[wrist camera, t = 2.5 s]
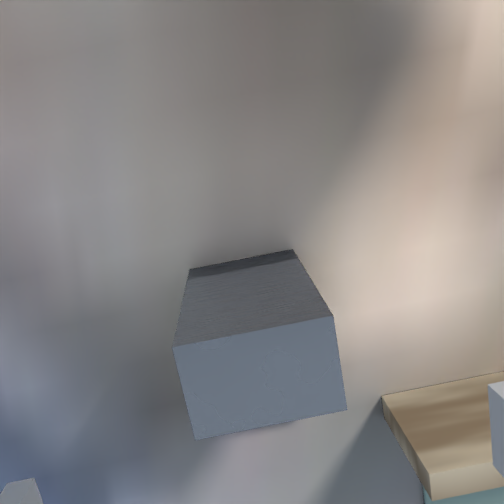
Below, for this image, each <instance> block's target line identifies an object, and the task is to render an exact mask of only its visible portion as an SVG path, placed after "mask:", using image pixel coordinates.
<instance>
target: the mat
mask: <svg viewBox="0 0 504 504" xmlns="http://www.w3.org/2000/svg"><path fill="white" fill-rule="evenodd" d="M423 494H424V503H425V504H504V487H499V488H494V489H489V490H484V491H479V492H475V493H470V494H465V495H460V496H455V497H450V498H445V499H440V500H436V501H432V500H431V499H430V497H429V495H428V493H427V492H426V490H425V488H424V486H423Z"/></svg>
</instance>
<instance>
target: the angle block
mask: <svg viewBox="0 0 504 504" xmlns="http://www.w3.org/2000/svg"><path fill="white" fill-rule="evenodd" d="M172 349H173V353H174V357H175V361H176V365H177V370H178V374H179V378H180V382H181V386H182V390H183V394H184V398H185V402H186V406H187V410H188V414H189V418H190V422H191V426H192V430H193V434H194V438H195V440H200V439H205V438H210V437H215V436H220V435H225V434H230V433H235V432H240V431H245V430H250V429H255V428H260V427H265V426H270V425H275V424H280V423H285V422H290V421H295V420H300V419H305V418H310V417H315V416H320V415H325V414H330V413H335V412H340V411H345V410H347V405H346V398H345V391H344V385H343V378H342V371H341V365H340V358H339V351H338V344H337V338H336V331H335V324H334V317H333V314H332V313H331V311H330V310H329V308H328V306H327V305H326V303H325V301H324V300H323V298H322V296H321V295H320V293H319V291H318V290H317V288H316V287H315V285H314V283H313V282H312V280H311V278H310V277H309V275H308V273H307V272H306V270H305V268H304V267H303V265H302V263H301V262H300V260H299V259H298V257H297V255H296V254H295V252H294V250H293V249H292V250H286V251H281V252H276V253H271V254H266V255H261V256H256V257H250V258H245V259H240V260H235V261H230V262H225V263H220V264H215V265H209V266H204V267H199V268H194V269H190V270H189V274H188V279H187V283H186V288H185V292H184V296H183V301H182V305H181V310H180V314H179V319H178V323H177V327H176V332H175V336H174V341H173V345H172Z"/></svg>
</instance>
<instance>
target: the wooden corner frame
mask: <svg viewBox="0 0 504 504" xmlns="http://www.w3.org/2000/svg"><path fill="white" fill-rule="evenodd" d="M501 381H504V371H503V372H498V373H493V374H488V375H483V376H478V377H473V378H468V379H463V380H458V381H453V382H448V383H443V384H438V385H433V386H428V387H423V388H418V389H413V390H408V391H403V392H398V393H393V394H388V395H384V396H382V404H383V412H384V418H385V420H386V422H387V423H388V425H389V427H390V429H391V430H392V432H393V434H394V436H395V437H396V439H397V441H398V443H399V444H400V446H401V448H402V450H403V451H404V453H405V455H406V457H407V458H408V460H409V462H410V464H411V465H412V467H413V469H414V471H415V472H416V474H417V476H418V478H419V479H420V481H421V483H422V485H423V486H424V488H425V490H426V492H427V493H428V495H429V497H430V499H431V500H432V501H436V500H440V499H445V498H450V497H455V496H460V495H465V494H470V493H475V492H479V491H484V490H489V489H494V488H499V487H504V478H503V476H502V475H501V474H500V473H499V472H498V471H497V469H496V468H495V467H494V466H493V459H492V444H491V428H490V413H489V398H488V384H492V383H496V382H501Z"/></svg>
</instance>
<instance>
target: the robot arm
mask: <svg viewBox="0 0 504 504" xmlns="http://www.w3.org/2000/svg"><path fill="white" fill-rule="evenodd" d="M488 398H489V413H490V428H491V444H492V459H493V466H494V467H495V468H496V469H497V471H498V472H499V473H500V474H501V475H502V476H503V478H504V381H501V382H496V383H492V384H488ZM0 504H43V501H42V498H41V495H40V493H39V490H38V487H37V484H36V481H35V478H30V479H26V480H21V481H16V482H11V483H7V484H6V486H5V488H4V489H3V491H2V492H1V494H0Z"/></svg>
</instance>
